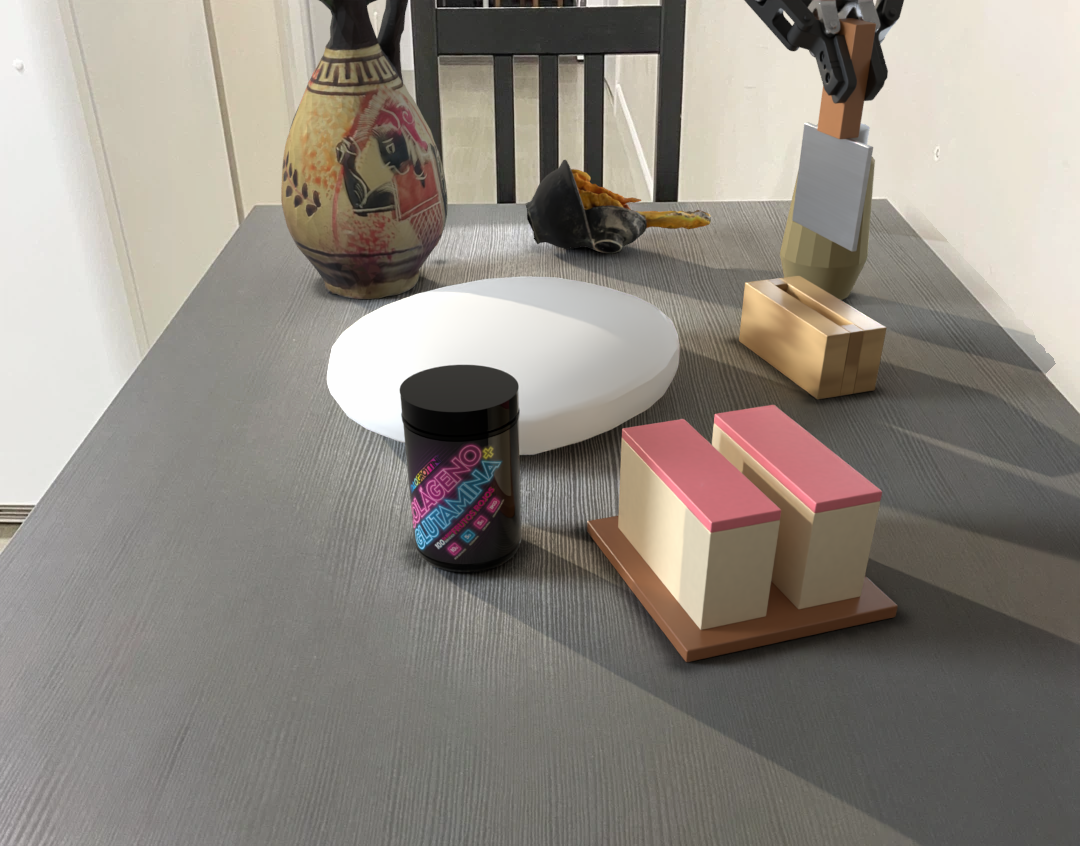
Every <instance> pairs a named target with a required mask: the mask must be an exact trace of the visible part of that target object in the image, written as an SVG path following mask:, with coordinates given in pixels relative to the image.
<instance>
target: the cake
mask: <svg viewBox="0 0 1080 846" xmlns="http://www.w3.org/2000/svg"><path fill="white" fill-rule="evenodd" d="M713 418H714V419H713V428H712V438H711V443H710V441H708V440H707V439H706V438H705V437H704V436H703V435H702V434H701V433H700V432H698V430H697V429H696V428H694V426H693V425H691V424H690V423H689V422H688V421H687V420H686V419H684V418H680V419H675V420H673V419H672V420H668V421H662V422H661V421H660V422H655V423H654V422H653V423H649V424H642V425H636V426H630V427H623V428H622V429H621V444H620V445H621V447H620V448H621V449H620V470H619V471H620V473H619V497H618V515H613V516H607V517H603V518H602V517H601V518H595V519H590V520H587V522H586V532H587V534H588V535H589V536H590V537H591V539H592V540H593V541H594V543H595V544H596V545H597V547H598V548H599V549H600V551H601V552H602V553H603V554H604V556H605V557H606V558H607V560H608V561H609V562H610V564H611V565H612V566H613V568H614V569H615V570H616V572H617V573H618V574H619V576H620V577H621V579H622V580H623V581H624V583H626V585H627V587H628V588H629V589H630V590H631V592H632V593H633V594H634V595H635V597H636V598H637V600H638V601H639V602H640V603H641V605H642V606H643V607H644V609H645V610H646V611H647V613H648V614H649V615H650V617H651V618H652V619H653V621H654V622H655V624H656V625H657V626H658V627H659V629H660V630H661V631H662V632H663V634H664V635H665V637H666V638H667V639H668V640H669V642H670V643H671V645H672V646H673V647H674V648H675V650H676V651H677V652H678V654H679V655H680V656H681V658H682V659H683V660H684V662H685V663H691V662H694V661H699V660H704V659H708V658H709V659H710V658H713V657H718V656H723V655H726V654H731V653H736V652H741V651H745V650H750V649H755V648H760V647H764V646H768V645H772V644H778V643H781V642H786V641H791V640H796V639H801V638H805V637H810V636H815V635H818V634H823V633H827V632H833V631H837V630H842V629H847V628H850V627H856V626H859V625H864V624H869V623H874V622H879V621H882V620H887V619H891V618H895V617H897V611H898V608H899V607H898V604H896V602H895V601H893V600H892V598H890V596H888V595H887V594H886V593H885V592H884V591H882V589H880V588H879V587H878V585H876V584H875V583H874V582H873V581H872V580H871V579H870V578H869V577H867V575H866V574H867V573H866V572H867V568H868V564H869V559H870V554H871V549H872V544H873V539H874V536H875V535H874V534H875V529H876V525H877V521H878V515H879V510H880V507H881V500H882V497H883V496H882V495H883V491H882V490H881V489H880V488H879V487H878V486H876V485H875V484H874V483H873V482H871V481H870V480H869V479H868V478H866V477H865V476H864V475H863V474H861V473H860V472H859V471H858V470H857V469H855V468H854V467H852V466H851V465H850V464H848V462H846V461H845V460H844V459H843V458H841V457H840V456H839V455H838V454H836V453H835V452H834V451H832V450H831V449H830V448H829V447H827V446H826V445H825V444H823V443H822V442H821V441H820V440H819V439H818V438H816V437H815V436H814V435H812V434H811V433H810V432H809V431H808V430H806V429H805V428H804V427H802V426H801V425H800V424H799V423H797V422H796V421H795V420H794V419H792V418H791V417H790V416H788V415H787V414H786V413H785V412H784V411H783V410H781V409H780V408H779V407H778V406H776V405H775V404H770V405H769V404H768V405H763V406H756V407H750V408H745V409H738V410H730V411H725V412H719V413H718V412H717V413H715V414H714V417H713Z"/></svg>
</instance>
